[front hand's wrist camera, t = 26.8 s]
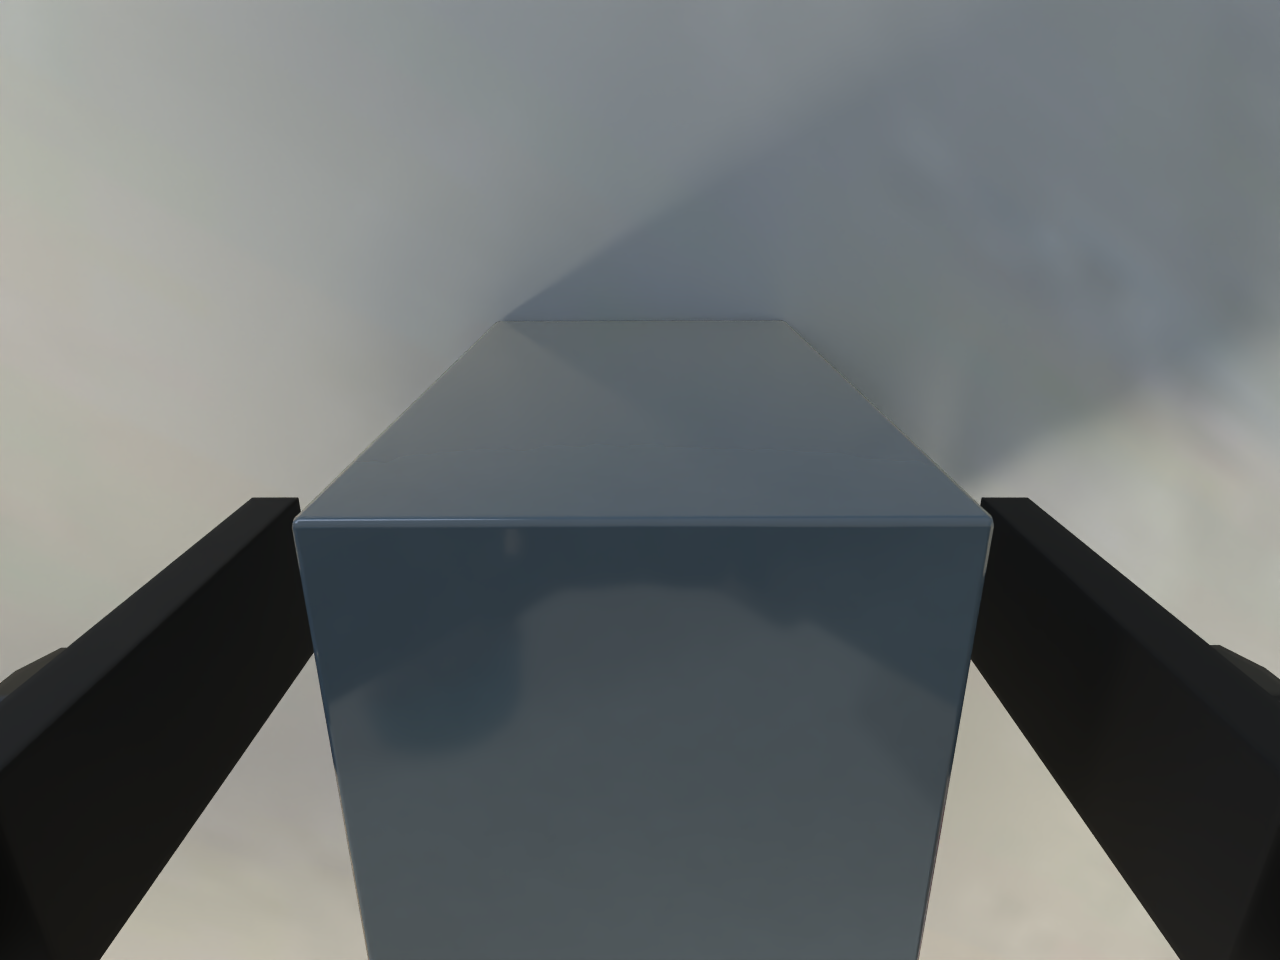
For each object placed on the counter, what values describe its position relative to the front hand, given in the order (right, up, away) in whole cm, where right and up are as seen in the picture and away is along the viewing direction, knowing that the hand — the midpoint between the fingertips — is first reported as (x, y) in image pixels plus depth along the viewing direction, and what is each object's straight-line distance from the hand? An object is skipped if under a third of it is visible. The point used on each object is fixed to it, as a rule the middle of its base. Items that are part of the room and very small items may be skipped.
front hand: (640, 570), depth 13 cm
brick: (0, +2, +4) cm, 5 cm away
